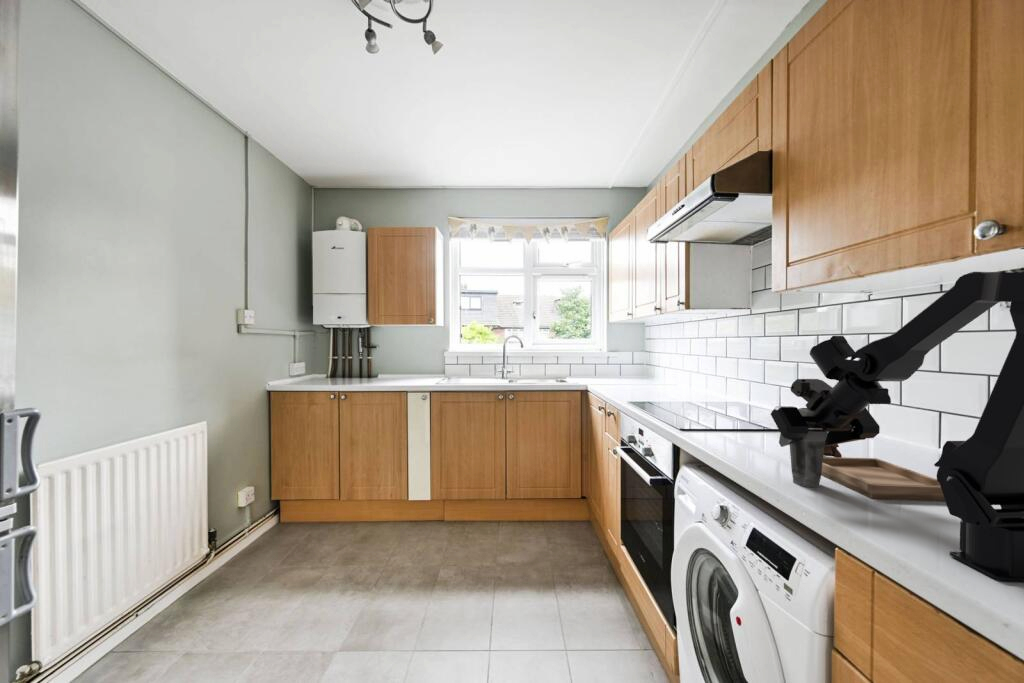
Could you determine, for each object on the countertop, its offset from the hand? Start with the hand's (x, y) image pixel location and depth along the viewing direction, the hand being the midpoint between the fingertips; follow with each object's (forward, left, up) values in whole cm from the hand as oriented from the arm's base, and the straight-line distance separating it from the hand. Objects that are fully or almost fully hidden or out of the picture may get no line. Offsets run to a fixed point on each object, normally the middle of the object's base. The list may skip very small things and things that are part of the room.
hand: (801, 444), depth 90 cm
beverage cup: (-1, 0, -8) cm, 8 cm away
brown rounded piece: (+19, -15, -8) cm, 26 cm away
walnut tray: (+1, -15, -8) cm, 17 cm away
